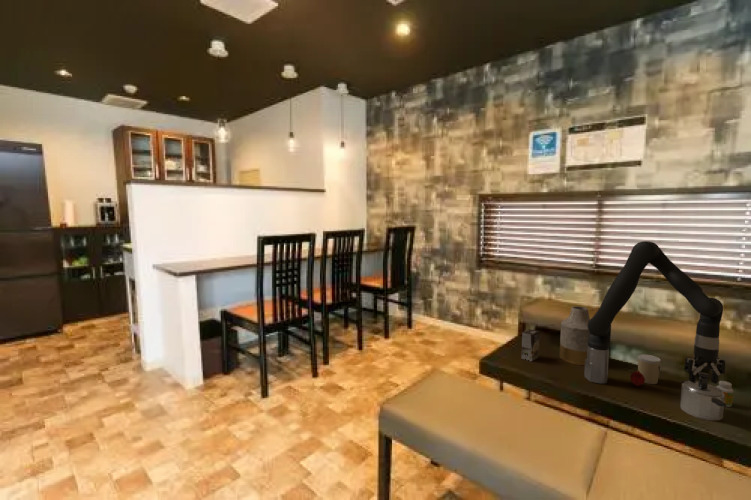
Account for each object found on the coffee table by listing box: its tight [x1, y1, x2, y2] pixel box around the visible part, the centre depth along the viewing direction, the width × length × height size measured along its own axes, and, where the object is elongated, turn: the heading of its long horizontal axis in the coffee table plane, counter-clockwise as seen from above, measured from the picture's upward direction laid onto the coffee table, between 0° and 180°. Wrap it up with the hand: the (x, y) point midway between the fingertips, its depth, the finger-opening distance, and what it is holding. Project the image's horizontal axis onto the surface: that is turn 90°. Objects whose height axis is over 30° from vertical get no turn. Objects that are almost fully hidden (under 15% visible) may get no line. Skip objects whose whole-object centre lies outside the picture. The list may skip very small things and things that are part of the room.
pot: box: [679, 380, 727, 422], centre depth 150 cm, size 19×13×10 cm
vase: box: [559, 305, 591, 367], centre depth 204 cm, size 18×18×30 cm
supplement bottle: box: [716, 380, 734, 408], centre depth 156 cm, size 5×5×10 cm
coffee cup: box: [637, 353, 662, 385], centre depth 178 cm, size 9×9×12 cm
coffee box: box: [520, 328, 540, 362], centre depth 207 cm, size 9×6×16 cm
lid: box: [684, 371, 723, 397], centre depth 149 cm, size 12×12×7 cm
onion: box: [629, 369, 645, 387], centre depth 173 cm, size 6×6×8 cm
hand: (703, 382), depth 149 cm, fingers open, 8 cm apart
